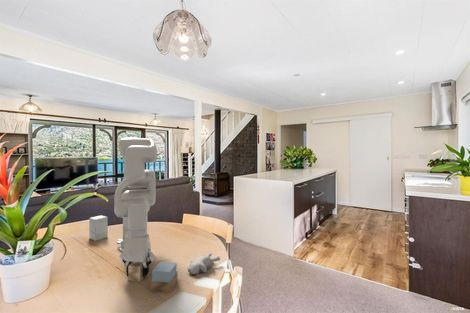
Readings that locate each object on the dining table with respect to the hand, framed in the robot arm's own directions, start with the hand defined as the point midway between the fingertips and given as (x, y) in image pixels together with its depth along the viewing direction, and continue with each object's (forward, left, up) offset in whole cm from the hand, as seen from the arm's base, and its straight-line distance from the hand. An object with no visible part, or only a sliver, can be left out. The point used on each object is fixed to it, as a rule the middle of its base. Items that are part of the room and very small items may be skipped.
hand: (137, 274), depth 94 cm
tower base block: (+14, -4, -2) cm, 14 cm away
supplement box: (-48, +38, -1) cm, 61 cm away
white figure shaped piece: (+25, +11, -2) cm, 28 cm away
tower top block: (+14, -4, +2) cm, 15 cm away
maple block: (0, 0, -1) cm, 1 cm away
